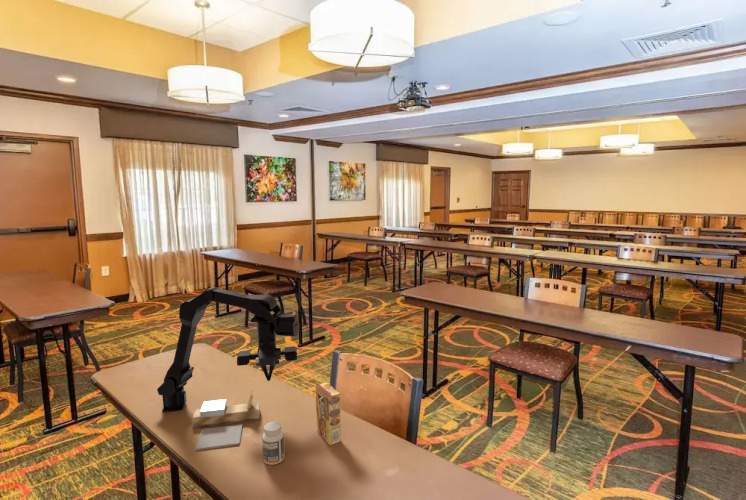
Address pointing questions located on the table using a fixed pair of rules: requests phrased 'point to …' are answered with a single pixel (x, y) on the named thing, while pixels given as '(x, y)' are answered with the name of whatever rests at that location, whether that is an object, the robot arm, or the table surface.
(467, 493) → the table surface
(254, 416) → the body
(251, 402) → the gold flat block
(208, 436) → the mat
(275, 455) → the pill bottle
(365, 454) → the table surface
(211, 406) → the cap plate
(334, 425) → the candy box
